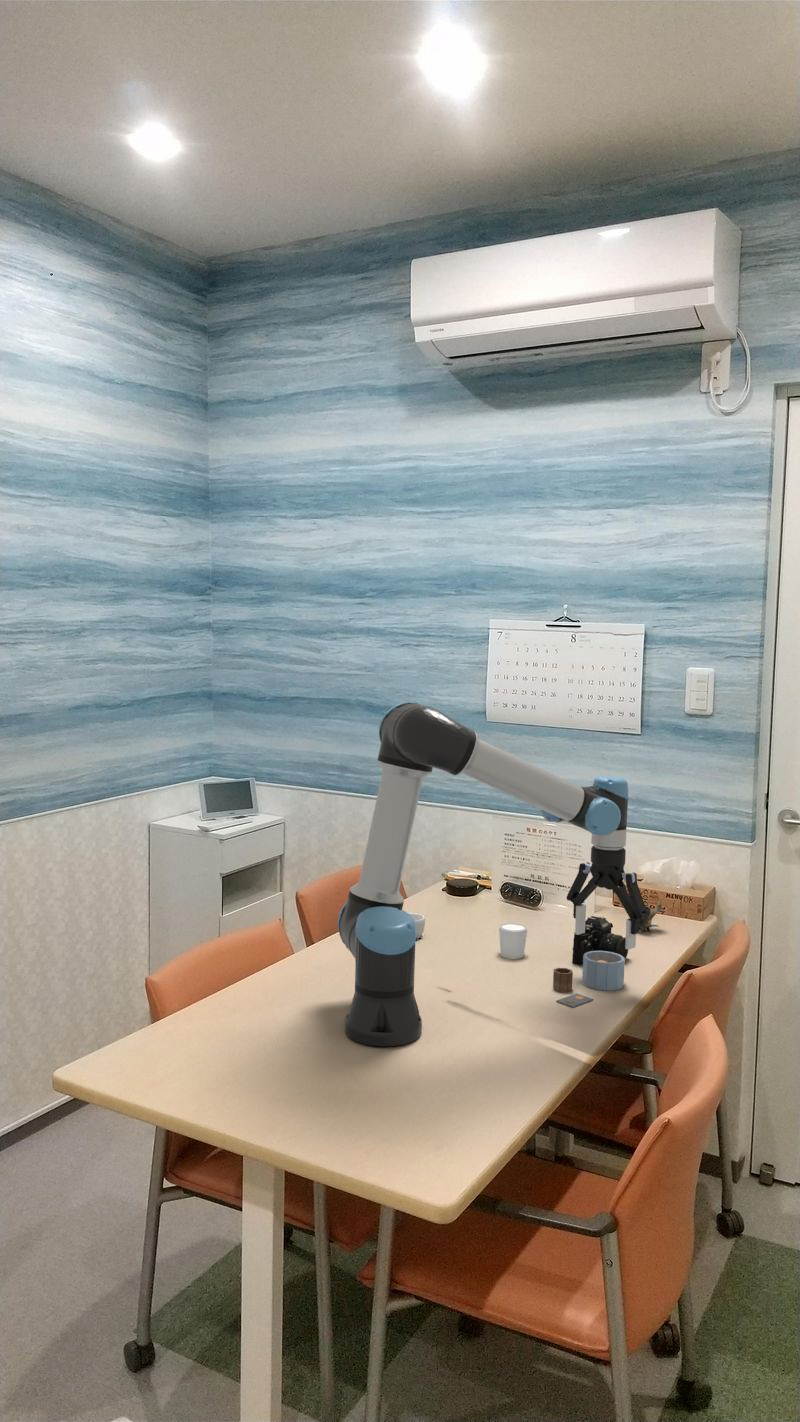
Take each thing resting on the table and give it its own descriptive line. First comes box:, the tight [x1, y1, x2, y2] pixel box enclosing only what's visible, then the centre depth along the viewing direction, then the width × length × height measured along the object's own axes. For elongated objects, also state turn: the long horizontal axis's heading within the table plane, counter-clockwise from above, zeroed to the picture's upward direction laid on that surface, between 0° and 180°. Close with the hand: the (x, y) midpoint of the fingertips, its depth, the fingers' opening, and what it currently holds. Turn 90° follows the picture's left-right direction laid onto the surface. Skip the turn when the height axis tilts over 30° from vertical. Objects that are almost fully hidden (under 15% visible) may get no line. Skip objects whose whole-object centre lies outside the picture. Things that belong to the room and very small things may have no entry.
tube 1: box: [552, 967, 574, 993], centre depth 217 cm, size 4×4×4 cm
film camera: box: [571, 915, 629, 966], centre depth 238 cm, size 18×12×10 cm
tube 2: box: [581, 951, 626, 991], centre depth 221 cm, size 9×9×6 cm
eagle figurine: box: [639, 904, 662, 934], centre depth 258 cm, size 8×7×9 cm
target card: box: [555, 992, 594, 1009], centre depth 209 cm, size 7×4×1 cm, turn 132°
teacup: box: [408, 912, 426, 940], centre depth 251 cm, size 10×8×5 cm
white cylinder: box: [498, 923, 528, 960], centre depth 239 cm, size 7×7×7 cm
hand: (604, 940), depth 220 cm, fingers open, 13 cm apart
